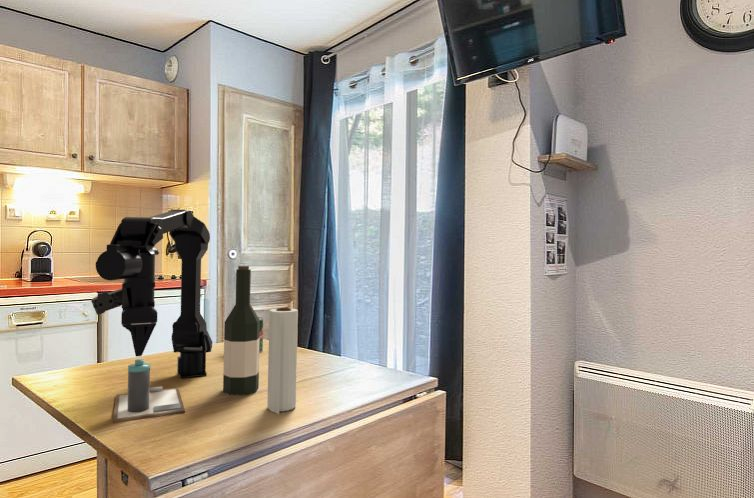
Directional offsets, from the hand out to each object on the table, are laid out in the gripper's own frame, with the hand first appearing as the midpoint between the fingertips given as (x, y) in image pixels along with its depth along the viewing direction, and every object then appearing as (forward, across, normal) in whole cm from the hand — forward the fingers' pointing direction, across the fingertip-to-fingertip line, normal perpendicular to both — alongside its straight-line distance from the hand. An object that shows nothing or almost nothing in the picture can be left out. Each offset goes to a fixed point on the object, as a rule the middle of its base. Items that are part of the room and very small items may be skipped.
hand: (138, 351), depth 97 cm
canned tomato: (+13, -44, +34) cm, 57 cm away
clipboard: (+12, -3, +2) cm, 13 cm away
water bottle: (+12, +1, 0) cm, 12 cm away
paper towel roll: (+12, +12, +27) cm, 32 cm away
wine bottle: (+13, -4, +22) cm, 26 cm away
